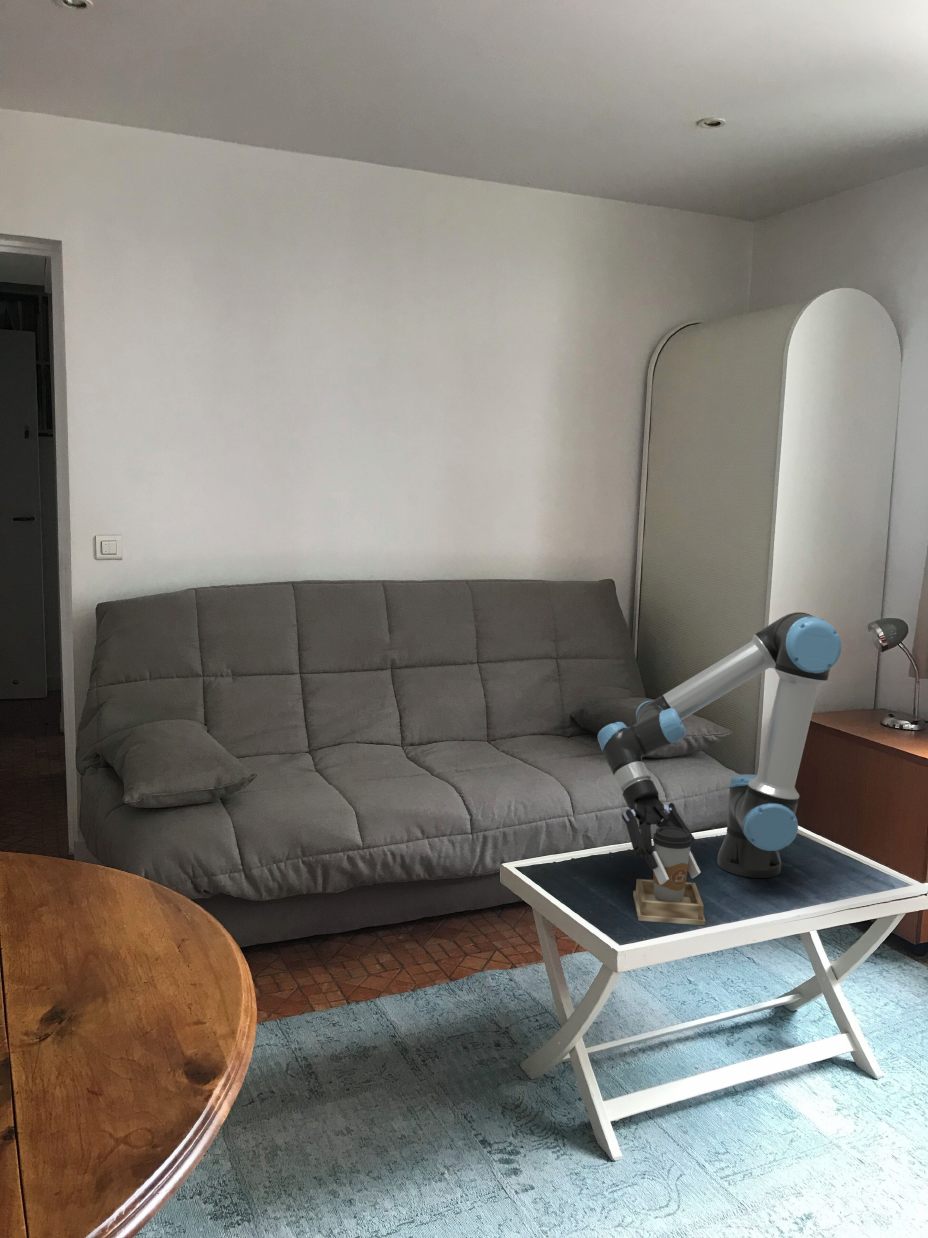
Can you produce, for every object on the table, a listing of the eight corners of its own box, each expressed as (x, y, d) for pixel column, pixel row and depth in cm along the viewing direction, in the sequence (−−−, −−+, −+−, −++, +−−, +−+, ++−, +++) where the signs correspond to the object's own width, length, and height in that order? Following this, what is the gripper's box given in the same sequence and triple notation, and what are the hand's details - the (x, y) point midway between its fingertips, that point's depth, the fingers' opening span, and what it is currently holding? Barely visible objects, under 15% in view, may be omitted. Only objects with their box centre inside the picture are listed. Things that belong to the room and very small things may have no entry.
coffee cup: (663, 908, 212) (668, 840, 210) (641, 893, 220) (645, 828, 218) (695, 903, 216) (700, 836, 214) (673, 889, 223) (677, 824, 221)
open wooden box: (695, 899, 224) (697, 882, 224) (705, 925, 210) (706, 907, 210) (633, 895, 225) (634, 878, 225) (638, 920, 212) (639, 902, 211)
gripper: (663, 789, 234) (707, 878, 222) (591, 800, 223) (633, 894, 211) (680, 773, 229) (726, 863, 217) (607, 783, 218) (651, 879, 206)
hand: (680, 878), depth 214 cm, fingers closed on coffee cup, 8 cm apart
